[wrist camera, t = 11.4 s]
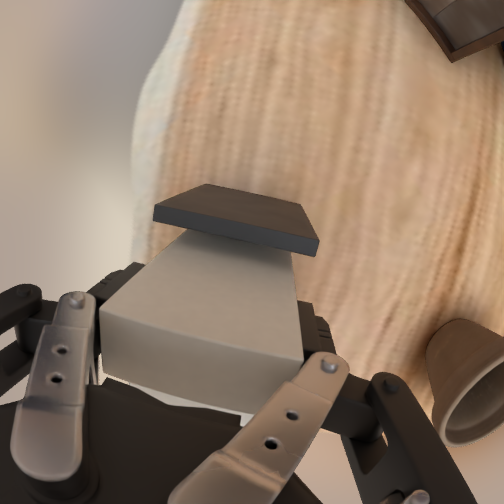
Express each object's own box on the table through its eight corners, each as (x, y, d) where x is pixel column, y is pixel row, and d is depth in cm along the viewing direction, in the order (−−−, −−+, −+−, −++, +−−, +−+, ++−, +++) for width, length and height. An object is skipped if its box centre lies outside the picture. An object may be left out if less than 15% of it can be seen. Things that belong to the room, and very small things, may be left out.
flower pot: (499, 341, 26) (543, 390, 17) (426, 400, 29) (455, 462, 19) (474, 273, 24) (536, 321, 15) (386, 345, 27) (421, 418, 17)
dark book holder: (205, 183, 24) (112, 223, 10) (300, 204, 24) (336, 273, 10) (184, 317, 28) (119, 441, 13) (266, 336, 28) (255, 476, 13)
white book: (203, 215, 21) (97, 307, 8) (288, 234, 21) (305, 359, 8) (197, 250, 22) (102, 373, 9) (279, 268, 22) (280, 420, 9)
